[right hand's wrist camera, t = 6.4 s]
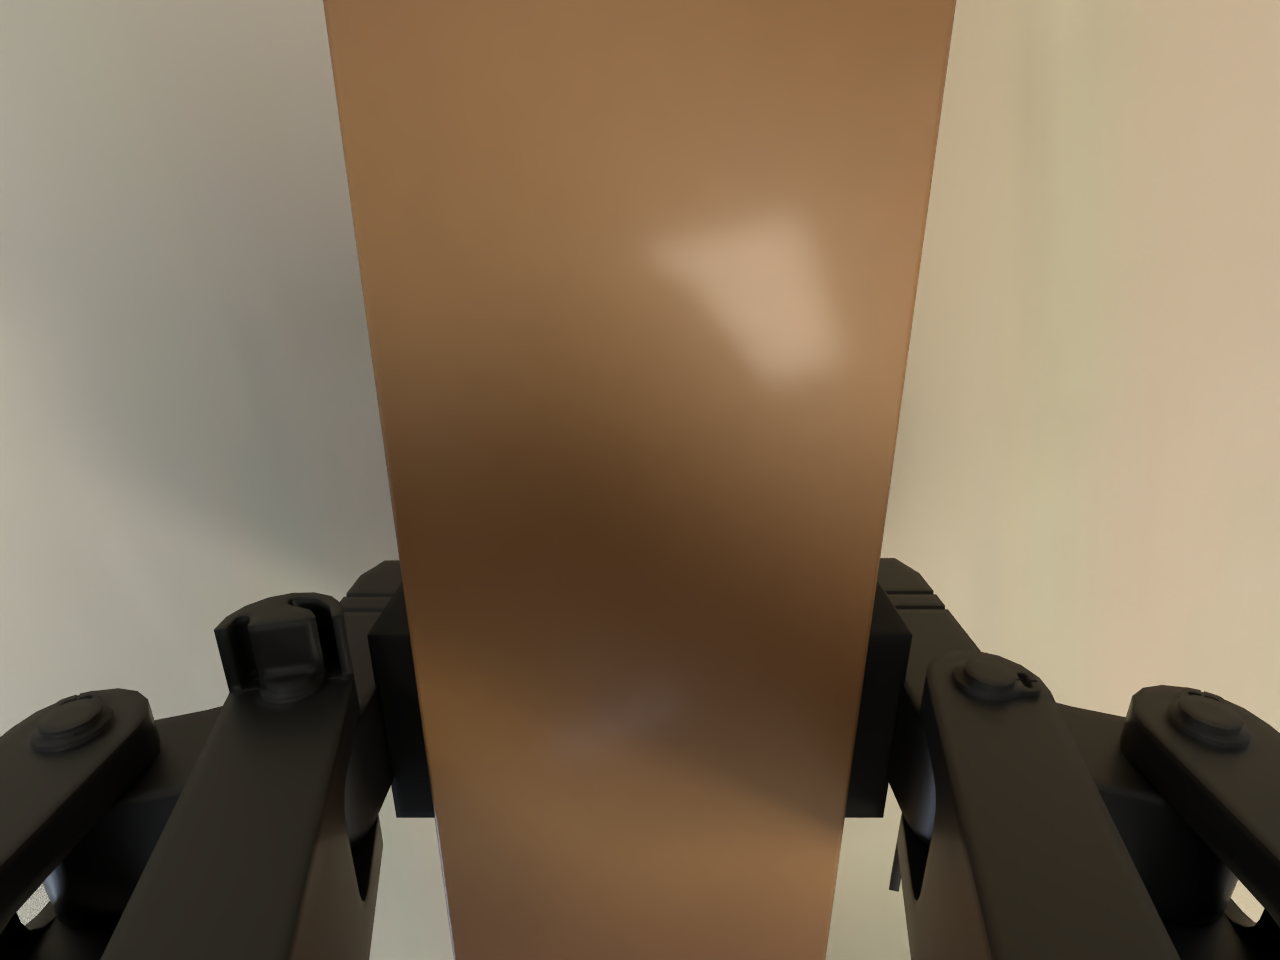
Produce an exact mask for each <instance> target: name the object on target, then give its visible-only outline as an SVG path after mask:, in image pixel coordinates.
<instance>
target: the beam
mask: <svg viewBox="0 0 1280 960" xmlns="http://www.w3.org/2000/svg"><path fill="white" fill-rule="evenodd" d="M323 3H324V10H325V17H326V25H327V32H328V39H329V47H330V54H331V61H332V69H333V76H334V83H335V91H336V98H337V105H338V113H339V120H340V127H341V135H342V142H343V149H344V156H345V164H346V171H347V178H348V186H349V193H350V200H351V208H352V215H353V222H354V230H355V237H356V244H357V252H358V259H359V266H360V274H361V281H362V288H363V296H364V303H365V310H366V318H367V325H368V332H369V340H370V347H371V354H372V362H373V369H374V376H375V384H376V391H377V398H378V406H379V413H380V420H381V428H382V435H383V442H384V450H385V457H386V464H387V472H388V479H389V486H390V494H391V501H392V508H393V515H394V523H395V530H396V537H397V545H398V552H399V559H400V567H401V574H402V581H403V589H404V596H405V603H406V611H407V618H408V625H409V633H410V640H411V647H412V655H413V662H414V669H415V677H416V684H417V691H418V699H419V706H420V713H421V721H422V728H423V735H424V743H425V750H426V757H427V765H428V772H429V779H430V787H431V794H432V801H433V809H434V816H435V823H436V831H437V838H438V845H439V852H440V860H441V867H442V874H443V882H444V889H445V896H446V904H447V911H448V918H449V926H450V933H451V940H452V948H453V955H454V960H825V958H826V950H827V943H828V936H829V928H830V921H831V914H832V906H833V899H834V892H835V884H836V877H837V870H838V862H839V855H840V848H841V840H842V833H843V826H844V818H845V811H846V804H847V796H848V789H849V782H850V774H851V767H852V760H853V752H854V745H855V738H856V730H857V723H858V716H859V708H860V701H861V694H862V686H863V679H864V672H865V664H866V657H867V650H868V642H869V635H870V628H871V620H872V613H873V606H874V598H875V591H876V584H877V577H878V569H879V562H880V555H881V547H882V540H883V533H884V525H885V518H886V511H887V503H888V496H889V489H890V481H891V474H892V467H893V459H894V452H895V445H896V437H897V430H898V423H899V415H900V408H901V401H902V393H903V386H904V379H905V371H906V364H907V357H908V349H909V342H910V335H911V327H912V320H913V313H914V305H915V298H916V291H917V283H918V276H919V269H920V261H921V254H922V247H923V239H924V232H925V225H926V217H927V210H928V203H929V195H930V188H931V181H932V174H933V166H934V159H935V152H936V144H937V137H938V130H939V122H940V115H941V108H942V100H943V93H944V86H945V78H946V71H947V64H948V56H949V49H950V42H951V34H952V27H953V20H954V12H955V5H956V0H323Z"/></svg>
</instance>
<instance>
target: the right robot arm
mask: <svg viewBox="0 0 1280 960" xmlns="http://www.w3.org/2000/svg"><path fill="white" fill-rule="evenodd" d="M214 633H215V637H216V640H217V644H218V648H219V652H220V656H221V660H222V664H223V668H224V672H225V676H226V680H227V684H228V688H229V692H230V693H229V695H228V697H227V699H226V701H225V703H224V705H223V706H221V707H217V708H213V709H209V710H205V711H200V712H195V713H190V714H185V715H180V716H175V717H170V718H165V719H160V720H155V721H154V718H153V715H152V711H151V708H150V705H149V701H148V699H147V698H146V697H144V696H143V695H142V694H140V693H139V692H138V691H133V690H126V689H119V688H117V689H108V690H99V691H90V692H85V693H81V694H80V695H78V696H77V695H74V696H71V697H68V698H64V699H62V700H60V701H58V702H57V703H55V704H53V705H51V706H48V707H46V708H44V709H42V710H39V711H37V712H35V713H34V714H32V715H31V716H29V717H28V718H26V719H25V720H23V721H22V722H20V723H19V724H17V725H16V726H14V727H13V728H11V729H10V730H9V731H7V732H6V733H5V734H4V735H3V736H1V737H0V960H369V956H370V948H371V940H372V931H373V923H374V915H375V907H376V898H377V890H378V882H379V874H380V866H381V857H382V849H383V840H382V833H381V827H380V821H379V815H378V813H379V811H380V809H381V807H382V804H383V802H384V800H385V797H386V795H387V793H388V791H389V788H390V786H392V792H393V798H394V805H395V811H396V817H397V818H435V816H434V809H433V801H432V794H431V787H430V779H429V772H428V765H427V757H426V750H425V743H424V735H423V728H422V721H421V713H420V706H419V699H418V691H417V684H416V677H415V669H414V662H413V655H412V647H411V640H410V633H409V625H408V618H407V611H406V603H405V596H404V589H403V581H402V574H401V567H400V561H383V562H382V563H380V564H379V565H377V566H375V567H374V568H372V569H371V570H369V571H367V572H366V573H364V574H362V575H361V576H360V577H359V578H358V580H357V581H356V582H355V583H354V585H353V586H352V587H351V589H350V590H349V591H348V592H347V597H344V598H343V599H342V600H341V601H340V602H339V601H337V600H336V599H335V598H333V597H332V596H328V595H324V594H319V593H290V594H285V595H280V596H274V597H269V598H266V599H263V600H261V601H258V602H255V603H252V604H250V605H247V606H244V607H243V608H241V609H239V610H238V611H236V612H234V613H232V614H231V615H229V616H227V617H226V618H225V619H224V620H223V621H222V622H221V623H220V624H219V625H218V626H217V627H216V628H215V629H214ZM888 783H889V784H890V786H891V788H892V790H893V793H894V795H895V797H896V799H897V802H898V804H899V806H900V809H901V811H902V815H901V821H900V827H899V833H898V838H897V844H896V850H895V856H894V861H893V867H892V873H891V879H890V886H889V890H893V891H898V892H899V886H900V881H901V880H902V889H903V897H904V905H905V913H906V921H907V930H908V938H909V946H910V954H911V960H1280V733H1279V732H1278V731H1276V730H1275V729H1274V728H1273V727H1271V726H1270V725H1269V724H1267V723H1266V722H1264V721H1263V720H1261V719H1260V718H1258V717H1257V716H1255V715H1254V714H1252V713H1250V712H1249V711H1247V710H1246V709H1244V708H1242V707H1240V706H1238V705H1235V704H1233V703H1231V702H1229V701H1226V700H1224V699H1223V698H1221V697H1219V696H1217V695H1214V694H1211V693H1208V692H1205V691H1204V692H1201V690H1197V689H1192V688H1186V687H1175V686H1166V685H1159V686H1152V687H1146V688H1142V689H1141V690H1140V691H1138V692H1137V693H1136V694H1134V695H1133V696H1132V700H1131V703H1130V706H1129V709H1128V713H1127V716H1126V717H1121V716H1116V715H1111V714H1106V713H1101V712H1096V711H1091V710H1086V709H1081V708H1076V707H1071V706H1067V705H1063V704H1059V703H1056V702H1055V700H1054V698H1053V696H1052V694H1051V692H1050V691H1049V689H1048V688H1047V687H1046V686H1045V684H1044V683H1043V682H1042V681H1041V679H1040V678H1039V677H1037V676H1036V675H1035V674H1033V673H1032V672H1030V671H1029V670H1027V669H1026V668H1024V667H1023V666H1021V665H1019V664H1017V663H1015V662H1012V661H1010V660H1007V659H1005V658H1003V657H1000V656H997V655H993V654H988V653H984V652H981V651H980V650H979V649H978V647H977V646H976V645H975V643H974V642H973V641H972V640H971V638H970V637H969V636H968V635H967V633H966V632H965V631H964V629H963V628H962V627H961V626H960V624H959V623H958V622H957V621H956V619H955V618H954V617H953V615H952V614H951V613H950V612H949V610H945V605H944V604H943V603H942V601H941V600H940V599H939V598H938V596H937V595H934V594H933V590H932V589H931V587H930V586H929V585H928V584H927V582H926V581H925V580H924V579H923V577H922V576H921V575H920V573H918V572H916V571H915V570H913V569H912V568H910V567H908V566H907V565H905V564H903V563H902V562H900V561H899V560H897V559H895V558H880V562H879V569H878V577H877V584H876V591H875V598H874V606H873V613H872V620H871V628H870V635H869V642H868V650H867V657H866V664H865V672H864V679H863V686H862V694H861V701H860V708H859V716H858V723H857V730H856V738H855V745H854V752H853V760H852V767H851V774H850V782H849V789H848V796H847V804H846V811H845V818H883V814H884V808H885V802H886V796H887V789H888ZM1238 879H1239V880H1240V881H1241V883H1242V884H1243V885H1244V886H1245V887H1246V888H1247V889H1248V890H1249V891H1250V893H1251V894H1252V895H1253V896H1254V897H1255V898H1256V899H1257V900H1258V901H1259V902H1260V904H1261V905H1262V906H1263V907H1264V908H1265V909H1264V911H1263V913H1262V916H1261V918H1260V920H1259V921H1258V922H1257V923H1255V922H1253V921H1252V920H1251V919H1250V918H1249V917H1248V916H1247V915H1246V914H1245V913H1243V912H1242V910H1241V909H1240V908H1239V907H1238V906H1237V905H1236V904H1235V902H1234V901H1233V900H1232V899H1231V895H1232V893H1233V891H1234V888H1235V886H1236V883H1237V881H1238ZM42 883H43V885H44V887H45V890H46V892H47V895H48V897H49V899H50V901H49V903H48V904H47V905H46V906H45V907H44V908H43V909H42V911H41V912H40V913H39V914H38V915H37V916H36V917H35V918H34V919H32V920H31V921H30V922H29V923H28V924H26V925H25V926H24V925H23V924H22V923H21V922H20V919H19V917H18V915H17V913H16V912H17V911H18V910H19V908H20V907H21V906H22V905H23V904H24V903H25V902H26V901H27V900H28V898H29V897H30V896H31V895H32V894H33V893H34V892H35V891H36V890H37V888H38V887H39V886H40V885H41V884H42Z"/></svg>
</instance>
